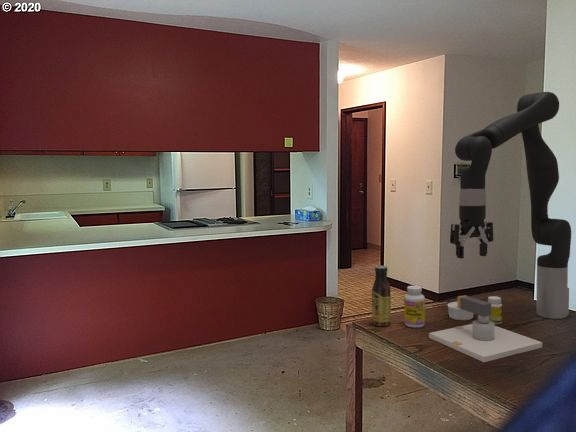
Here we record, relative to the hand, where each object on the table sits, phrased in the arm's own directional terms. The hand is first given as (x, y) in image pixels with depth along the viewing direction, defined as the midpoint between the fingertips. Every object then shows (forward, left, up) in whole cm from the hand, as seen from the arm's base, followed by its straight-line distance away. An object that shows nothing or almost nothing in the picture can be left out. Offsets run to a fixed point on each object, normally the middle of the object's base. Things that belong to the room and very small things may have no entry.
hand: (471, 257), depth 150 cm
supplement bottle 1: (+8, -17, -25) cm, 31 cm away
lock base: (+1, +6, -25) cm, 25 cm away
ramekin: (-11, -16, -25) cm, 32 cm away
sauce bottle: (+17, -23, -25) cm, 38 cm away
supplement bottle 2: (-16, -6, -25) cm, 30 cm away
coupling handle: (+1, +2, -18) cm, 18 cm away
